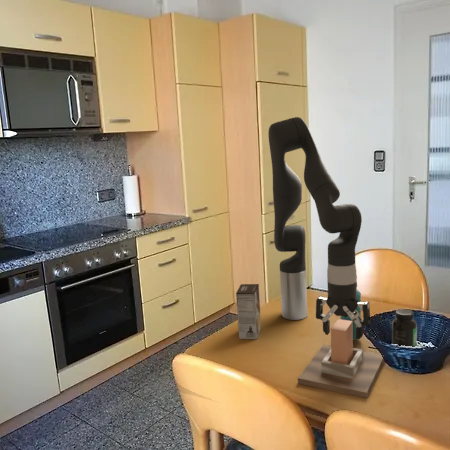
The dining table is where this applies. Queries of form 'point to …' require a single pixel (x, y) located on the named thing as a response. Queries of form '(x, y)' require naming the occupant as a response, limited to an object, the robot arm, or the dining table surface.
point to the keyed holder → (343, 372)
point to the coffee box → (248, 311)
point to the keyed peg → (342, 342)
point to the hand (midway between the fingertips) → (342, 336)
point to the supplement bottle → (404, 328)
